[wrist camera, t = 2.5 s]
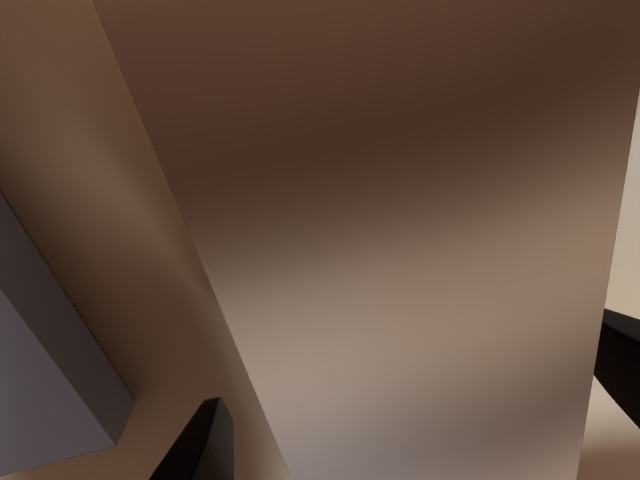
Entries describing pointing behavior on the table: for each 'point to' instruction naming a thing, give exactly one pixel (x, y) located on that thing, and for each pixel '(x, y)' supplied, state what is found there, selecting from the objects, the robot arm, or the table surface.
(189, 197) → the brown rectangular block
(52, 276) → the peg stand
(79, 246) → the table surface
